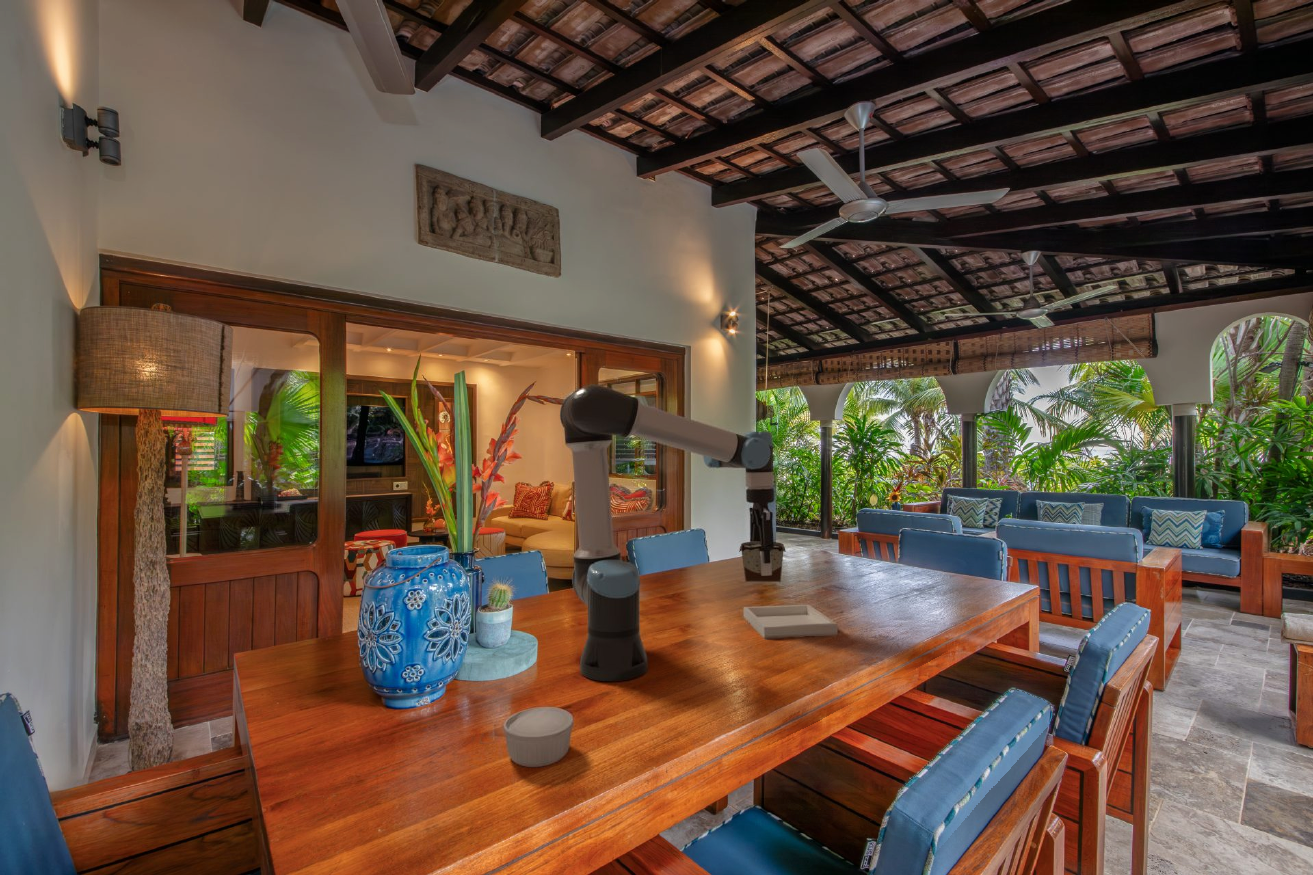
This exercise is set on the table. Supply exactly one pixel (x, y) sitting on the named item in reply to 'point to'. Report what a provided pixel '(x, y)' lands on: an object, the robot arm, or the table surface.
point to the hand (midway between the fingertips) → (762, 572)
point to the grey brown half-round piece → (754, 562)
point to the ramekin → (538, 735)
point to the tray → (789, 621)
